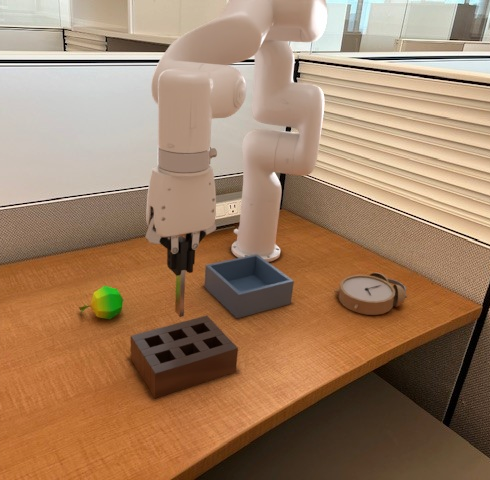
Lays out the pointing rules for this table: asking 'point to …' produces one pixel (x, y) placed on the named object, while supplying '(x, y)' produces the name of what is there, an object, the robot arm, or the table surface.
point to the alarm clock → (371, 293)
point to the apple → (105, 302)
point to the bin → (248, 285)
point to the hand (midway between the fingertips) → (180, 269)
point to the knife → (181, 276)
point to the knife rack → (182, 355)
